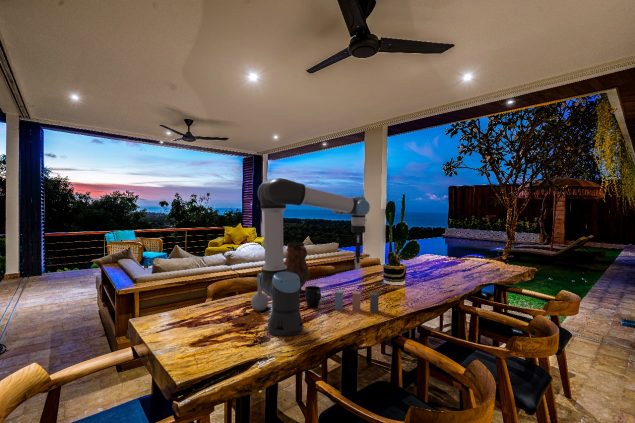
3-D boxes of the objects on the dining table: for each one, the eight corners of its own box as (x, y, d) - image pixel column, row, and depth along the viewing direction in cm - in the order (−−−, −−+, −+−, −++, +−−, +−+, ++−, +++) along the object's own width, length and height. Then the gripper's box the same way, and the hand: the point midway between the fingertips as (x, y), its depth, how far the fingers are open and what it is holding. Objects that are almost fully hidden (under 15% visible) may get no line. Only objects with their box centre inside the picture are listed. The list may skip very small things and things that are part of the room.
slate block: (342, 310, 151) (342, 292, 151) (334, 309, 152) (335, 292, 152) (342, 307, 155) (343, 290, 155) (335, 307, 156) (335, 290, 156)
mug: (312, 311, 148) (312, 292, 148) (302, 304, 159) (302, 286, 159) (326, 309, 152) (326, 290, 152) (315, 302, 163) (316, 285, 163)
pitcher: (300, 286, 194) (301, 240, 193) (316, 295, 176) (317, 244, 175) (276, 289, 185) (277, 242, 185) (291, 299, 167) (292, 246, 167)
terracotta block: (360, 311, 150) (360, 293, 150) (352, 311, 151) (352, 293, 150) (360, 308, 154) (360, 291, 154) (352, 308, 155) (352, 291, 154)
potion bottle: (271, 308, 152) (272, 273, 152) (257, 312, 146) (257, 276, 145) (261, 304, 158) (261, 270, 158) (247, 308, 152) (247, 273, 151)
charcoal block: (378, 312, 149) (378, 295, 149) (370, 312, 149) (370, 294, 149) (377, 310, 153) (378, 292, 153) (369, 309, 153) (370, 292, 153)
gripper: (365, 226, 153) (364, 271, 154) (365, 224, 166) (364, 266, 167) (351, 225, 154) (350, 270, 155) (351, 224, 167) (351, 265, 168)
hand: (357, 268), depth 161 cm, fingers closed
